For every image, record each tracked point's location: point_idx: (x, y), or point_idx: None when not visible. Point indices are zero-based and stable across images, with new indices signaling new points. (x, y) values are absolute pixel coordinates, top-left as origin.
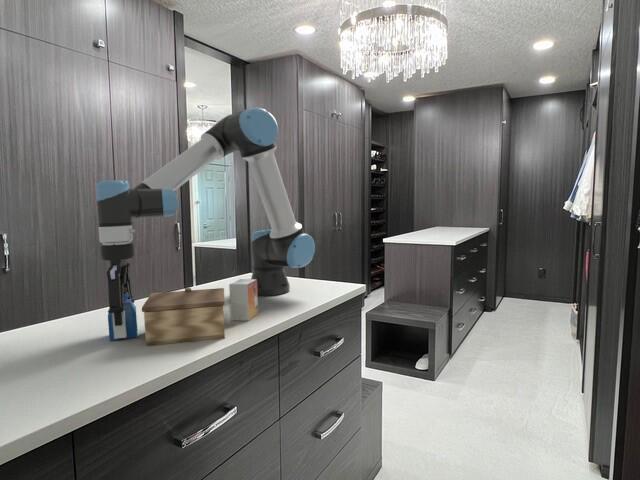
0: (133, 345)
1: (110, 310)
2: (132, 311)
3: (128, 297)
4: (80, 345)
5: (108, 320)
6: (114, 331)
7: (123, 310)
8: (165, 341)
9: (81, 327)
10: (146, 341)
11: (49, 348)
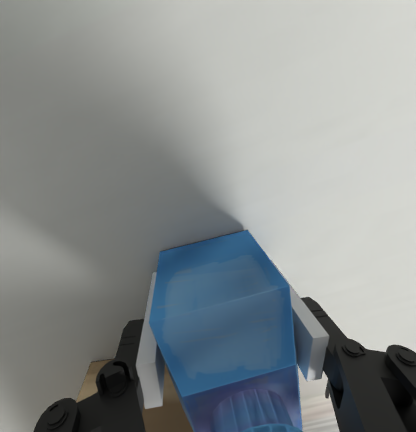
0: (103, 330)
1: (43, 420)
2: (184, 411)
3: (339, 420)
4: (134, 157)
5: (152, 305)
6: (150, 291)
7: (178, 394)
8: None
9: (410, 61)
10: (85, 377)
11: (113, 18)
